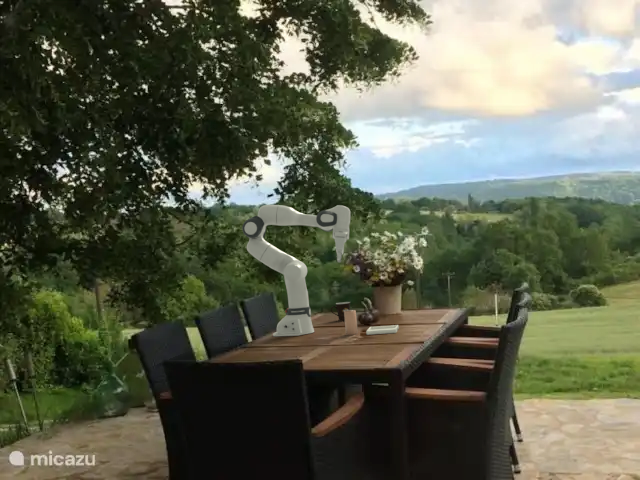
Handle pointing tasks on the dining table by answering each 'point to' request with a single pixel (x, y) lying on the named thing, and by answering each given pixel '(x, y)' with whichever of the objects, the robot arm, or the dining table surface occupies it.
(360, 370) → the dining table surface
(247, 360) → the dining table surface
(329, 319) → the dining table surface
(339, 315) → the coffee mug
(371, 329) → the plastic tray
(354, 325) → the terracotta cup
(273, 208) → the robot arm
